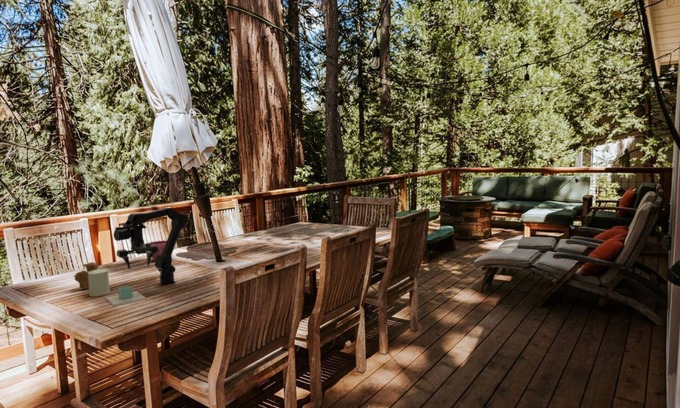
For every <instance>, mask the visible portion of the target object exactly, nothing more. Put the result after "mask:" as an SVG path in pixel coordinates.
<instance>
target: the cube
mask: <svg viewBox="0 0 680 408" xmlns="http://www.w3.org/2000/svg"><path fill="white" fill-rule="evenodd" d="M117 289H118V291H117V292H118V295H119V298H120V299H121V300H123V299H128V298H133V293H132V292H133V287H132V286H130V285H123V286H119V287H117Z"/></svg>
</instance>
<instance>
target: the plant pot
mask: <svg viewBox="0 0 680 408" xmlns="http://www.w3.org/2000/svg"><path fill="white" fill-rule="evenodd" d="M166 242H167V240H157V241H156V240H155V241H150V242H149V243H150V245H151V246H152V245H154V246H157V247H158V252H156V253H155V254H153V256H152V258H151V260H152V261H153V262H154V263H155V260H156V257H157V255H161V254H162V253H163V250H164V247H165V245H166Z"/></svg>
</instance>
